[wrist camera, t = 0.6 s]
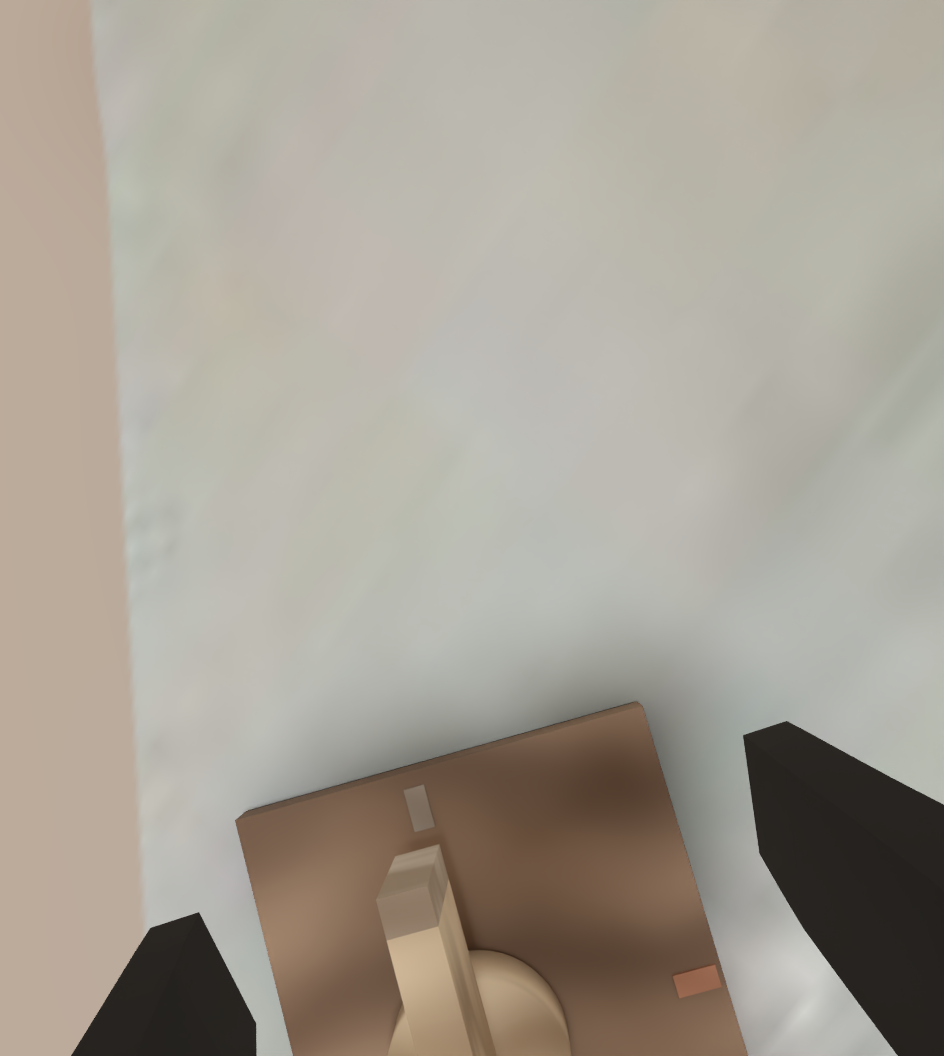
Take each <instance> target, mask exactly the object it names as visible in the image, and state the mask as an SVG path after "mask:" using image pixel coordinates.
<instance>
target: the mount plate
mask: <svg viewBox="0 0 944 1056" xmlns="http://www.w3.org/2000/svg"><path fill="white" fill-rule="evenodd" d="M235 822H236V826H237V830H238V834H239V838H240V842H241V846H242V850H243V854H244V858H245V862H246V866H247V870H248V874H249V878H250V882H251V887H252V891H253V895H254V899H255V903H256V907H257V911H258V915H259V919H260V923H261V927H262V931H263V935H264V939H265V943H266V947H267V951H268V955H269V960H270V964H271V968H272V972H273V976H274V980H275V984H276V988H277V992H278V996H279V1000H280V1004H281V1008H282V1012H283V1016H284V1020H285V1024H286V1028H287V1033H288V1037H289V1041H290V1045H291V1049H292V1053H293V1056H388V1051H389V1048H390V1044H391V1040H392V1036H393V1033H394V1029H395V1025H396V1022H397V1018H398V1014H399V1011H400V1008H401V1005H402V1003H403V1001H402V998H401V994H400V990H399V986H398V982H397V979H396V975H395V971H394V967H393V963H392V959H391V956H390V952H389V948H388V944H387V940H386V936H385V933H384V929H383V925H382V921H381V917H380V914H379V910H378V906H377V902H376V899H377V897H378V894H379V892H380V890H381V888H382V885H383V883H384V881H385V878H386V876H387V874H388V872H389V869H390V867H391V865H392V863H393V860H394V858H395V856H398V855H402V854H406V853H409V852H413V851H416V850H420V849H423V848H427V847H431V846H434V845H438V844H439V845H440V848H441V852H442V856H443V859H444V863H445V867H446V870H447V874H448V878H449V882H450V885H451V889H452V893H453V896H454V900H455V904H456V907H457V911H458V915H459V918H460V922H461V926H462V929H463V933H464V937H465V940H466V944H467V948H468V951H472V950H487V951H495V952H499V953H503V954H506V955H509V956H512V957H514V958H516V959H518V960H520V961H522V962H524V963H525V964H527V965H528V966H530V967H531V968H532V969H534V970H535V971H536V972H537V973H538V974H539V975H540V976H541V977H542V978H543V979H544V980H545V981H546V982H547V983H548V985H549V986H550V987H551V989H552V990H553V992H554V993H555V995H556V996H557V998H558V1000H559V1003H560V1005H561V1007H562V1009H563V1012H564V1015H565V1018H566V1023H567V1027H568V1033H569V1041H570V1049H571V1056H748V1054H747V1051H746V1048H745V1044H744V1041H743V1038H742V1034H741V1031H740V1028H739V1025H738V1021H737V1018H736V1015H735V1011H734V1008H733V1005H732V1001H731V998H730V995H729V991H728V988H727V985H726V981H725V978H724V975H723V972H722V968H721V965H720V962H719V958H718V955H717V952H716V948H715V945H714V942H713V938H712V935H711V932H710V928H709V925H708V922H707V918H706V915H705V912H704V909H703V905H702V902H701V899H700V895H699V892H698V889H697V885H696V882H695V879H694V875H693V872H692V869H691V865H690V862H689V859H688V856H687V852H686V849H685V846H684V842H683V839H682V836H681V832H680V829H679V826H678V822H677V819H676V816H675V812H674V809H673V806H672V802H671V799H670V796H669V793H668V789H667V786H666V783H665V779H664V776H663V773H662V769H661V766H660V763H659V759H658V756H657V753H656V749H655V746H654V743H653V740H652V736H651V733H650V730H649V726H648V723H647V720H646V716H645V713H644V710H643V706H642V705H641V704H640V703H638V702H633V703H630V704H626V705H623V706H619V707H616V708H612V709H608V710H605V711H601V712H598V713H594V714H591V715H587V716H584V717H580V718H576V719H573V720H569V721H566V722H562V723H559V724H555V725H552V726H548V727H544V728H541V729H537V730H534V731H530V732H527V733H523V734H520V735H516V736H513V737H509V738H505V739H502V740H498V741H495V742H491V743H488V744H484V745H481V746H477V747H473V748H470V749H466V750H463V751H459V752H456V753H452V754H449V755H445V756H441V757H438V758H434V759H431V760H427V761H424V762H420V763H417V764H413V765H410V766H406V767H402V768H399V769H395V770H392V771H388V772H385V773H381V774H378V775H374V776H370V777H367V778H363V779H360V780H356V781H353V782H349V783H346V784H342V785H338V786H335V787H331V788H328V789H324V790H321V791H317V792H314V793H310V794H307V795H303V796H299V797H296V798H292V799H289V800H285V801H282V802H278V803H275V804H271V805H267V806H264V807H260V808H257V809H253V810H250V811H246V812H245V813H244V814H242V815H241V816H240V817H239V818H238V819H236V820H235Z"/></svg>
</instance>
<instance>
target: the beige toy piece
mask: <svg viewBox="0 0 944 1056" xmlns="http://www.w3.org/2000/svg"><path fill="white" fill-rule="evenodd" d="M376 902H377V906H378V910H379V914H380V917H381V921H382V925H383V929H384V933H385V936H386V940H387V944H388V948H389V952H390V956H391V959H392V963H393V967H394V971H395V975H396V979H397V982H398V986H399V990H400V994H401V998H402V1001H403V1003H402V1005H401V1008H400V1011H399V1014H398V1018H397V1022H396V1025H395V1029H394V1033H393V1036H392V1040H391V1044H390V1048H389V1051H388V1056H571V1049H570V1041H569V1033H568V1027H567V1023H566V1018H565V1015H564V1012H563V1009H562V1007H561V1005H560V1003H559V1000H558V998H557V996H556V995H555V993H554V992H553V990H552V989H551V987H550V986H549V985H548V983H547V982H546V981H545V980H544V979H543V978H542V977H541V976H540V975H539V974H538V973H537V972H536V971H535V970H534V969H532V968H531V967H530V966H528V965H527V964H525V963H524V962H522V961H520V960H518V959H516V958H514V957H512V956H509V955H506V954H503V953H499V952H495V951H487V950H472V951H468V948H467V944H466V940H465V937H464V933H463V929H462V926H461V922H460V918H459V915H458V911H457V907H456V904H455V900H454V896H453V893H452V889H451V885H450V882H449V878H448V874H447V870H446V867H445V863H444V859H443V856H442V852H441V848H440V845H439V844H438V845H434V846H431V847H427V848H423V849H420V850H416V851H413V852H409V853H406V854H402V855H398V856H395V858H394V860H393V863H392V865H391V867H390V869H389V872H388V874H387V876H386V878H385V881H384V883H383V885H382V888H381V890H380V892H379V894H378V897H377V899H376Z"/></svg>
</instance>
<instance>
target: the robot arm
mask: <svg viewBox="0 0 944 1056" xmlns="http://www.w3.org/2000/svg"><path fill="white" fill-rule="evenodd" d="M743 738H744V745H745V752H746V759H747V767H748V774H749V781H750V788H751V795H752V803H753V810H754V817H755V824H756V831H757V838H758V846H759V853H760V855H761V857H762V859H763V860H764V862H765V864H766V866H767V867H768V869H769V871H770V872H771V874H772V876H773V878H774V879H775V881H776V883H777V885H778V886H779V888H780V890H781V892H782V893H783V895H784V897H785V898H786V900H787V902H788V903H789V905H790V907H791V908H792V910H793V912H794V913H795V915H796V917H797V918H798V920H799V922H800V923H801V925H802V927H803V928H804V930H805V931H806V932H807V934H808V935H809V937H810V938H811V939H812V941H813V942H814V943H815V945H816V946H817V948H818V949H819V950H820V952H821V953H822V954H823V956H824V957H825V958H826V960H827V961H828V962H829V964H830V965H831V967H832V968H833V969H834V971H835V972H836V973H837V975H838V976H839V977H840V979H841V980H842V981H843V983H844V984H845V986H846V987H847V988H848V990H849V991H850V992H851V994H852V995H853V996H854V998H855V999H856V1000H857V1002H858V1003H859V1004H860V1006H861V1007H862V1008H863V1010H864V1011H865V1012H866V1014H867V1015H868V1016H869V1018H870V1019H871V1020H872V1022H873V1023H874V1024H875V1026H876V1027H877V1028H878V1030H879V1031H880V1032H881V1034H882V1035H883V1036H884V1038H885V1039H886V1040H887V1042H888V1043H889V1045H890V1046H891V1047H892V1049H893V1050H894V1051H895V1053H896V1054H897V1055H898V1056H944V805H943V804H941V803H939V802H937V801H936V800H934V799H932V798H930V797H928V796H926V795H924V794H922V793H920V792H918V791H916V790H914V789H912V788H910V787H908V786H906V785H904V784H902V783H901V782H899V781H897V780H895V779H893V778H891V777H889V776H887V775H885V774H884V773H882V772H880V771H878V770H876V769H874V768H872V767H871V766H869V765H867V764H865V763H863V762H861V761H859V760H858V759H856V758H854V757H852V756H850V755H848V754H847V753H845V752H843V751H841V750H839V749H837V748H836V747H834V746H832V745H830V744H828V743H826V742H825V741H823V740H821V739H819V738H817V737H815V736H814V735H812V734H810V733H808V732H806V731H804V730H803V729H801V728H799V727H797V726H795V725H793V724H791V723H789V722H787V721H786V722H782V723H779V724H776V725H773V726H770V727H767V728H764V729H761V730H758V731H755V732H752V733H749V734H746V735H743ZM71 1056H256V1022H255V1021H254V1019H253V1017H252V1015H251V1013H250V1011H249V1009H248V1007H247V1005H246V1003H245V1001H244V999H243V997H242V995H241V993H240V991H239V989H238V987H237V986H236V984H235V982H234V980H233V978H232V976H231V974H230V972H229V970H228V968H227V966H226V964H225V962H224V960H223V958H222V956H221V954H220V952H219V950H218V949H217V947H216V945H215V943H214V941H213V939H212V937H211V935H210V933H209V931H208V929H207V927H206V925H205V923H204V921H203V919H202V917H201V915H200V914H199V912H198V913H195V914H192V915H189V916H186V917H183V918H180V919H177V920H174V921H171V922H168V923H165V924H162V925H158V926H155V927H152V928H150V930H149V931H148V933H147V934H146V936H145V937H144V939H143V940H142V942H141V944H140V945H139V947H138V949H137V950H136V951H135V953H134V955H133V956H132V958H131V959H130V961H129V963H128V964H127V966H126V968H125V969H124V971H123V973H122V974H121V976H120V977H119V979H118V981H117V983H116V984H115V986H114V987H113V989H112V990H111V992H110V994H109V995H108V997H107V999H106V1000H105V1002H104V1004H103V1005H102V1007H101V1009H100V1010H99V1012H98V1013H97V1015H96V1017H95V1018H94V1020H93V1021H92V1023H91V1025H90V1026H89V1028H88V1030H87V1031H86V1033H85V1034H84V1036H83V1038H82V1040H81V1041H80V1042H79V1044H78V1046H77V1047H76V1049H75V1051H74V1052H73V1054H72V1055H71Z"/></svg>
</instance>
